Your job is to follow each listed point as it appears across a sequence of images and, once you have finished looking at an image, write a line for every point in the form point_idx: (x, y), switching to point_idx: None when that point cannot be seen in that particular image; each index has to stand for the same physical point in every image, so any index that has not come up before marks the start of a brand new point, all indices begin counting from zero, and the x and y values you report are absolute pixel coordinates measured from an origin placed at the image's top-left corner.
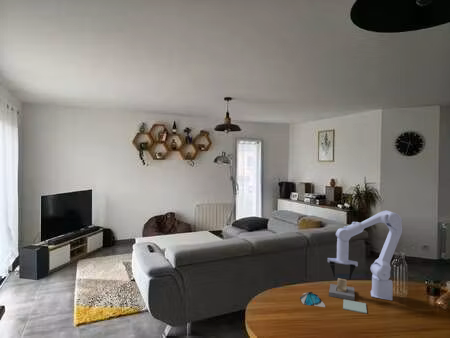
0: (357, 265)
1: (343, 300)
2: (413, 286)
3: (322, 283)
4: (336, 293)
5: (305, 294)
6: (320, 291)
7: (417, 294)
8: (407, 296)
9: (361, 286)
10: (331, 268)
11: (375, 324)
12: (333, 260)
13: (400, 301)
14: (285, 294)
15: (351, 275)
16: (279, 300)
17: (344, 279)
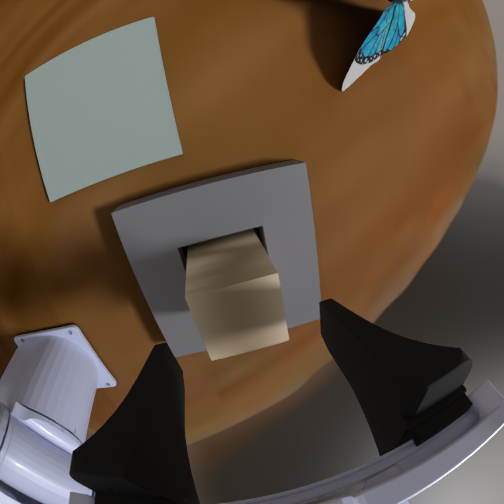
0: (69, 502)
1: (176, 132)
2: None
3: None
4: (246, 173)
5: (406, 2)
6: (355, 203)
7: None
8: None
9: None
10: (412, 340)
11: (3, 18)
12: (460, 452)
13: (4, 345)
14: (462, 70)
15: (136, 379)
16: (450, 7)
17: (229, 354)
